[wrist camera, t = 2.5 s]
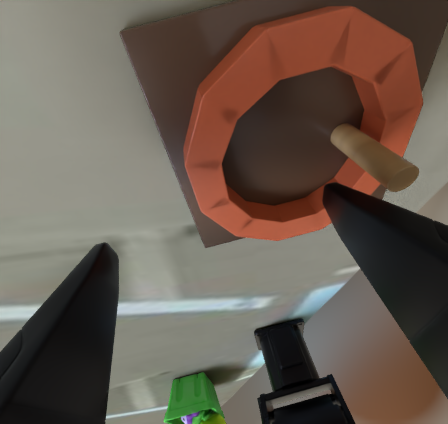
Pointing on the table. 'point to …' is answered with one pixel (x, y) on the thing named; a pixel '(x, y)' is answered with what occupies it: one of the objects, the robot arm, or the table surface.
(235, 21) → the peg stand
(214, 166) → the ring
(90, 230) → the table surface
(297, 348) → the robot arm
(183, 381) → the fruit basket
